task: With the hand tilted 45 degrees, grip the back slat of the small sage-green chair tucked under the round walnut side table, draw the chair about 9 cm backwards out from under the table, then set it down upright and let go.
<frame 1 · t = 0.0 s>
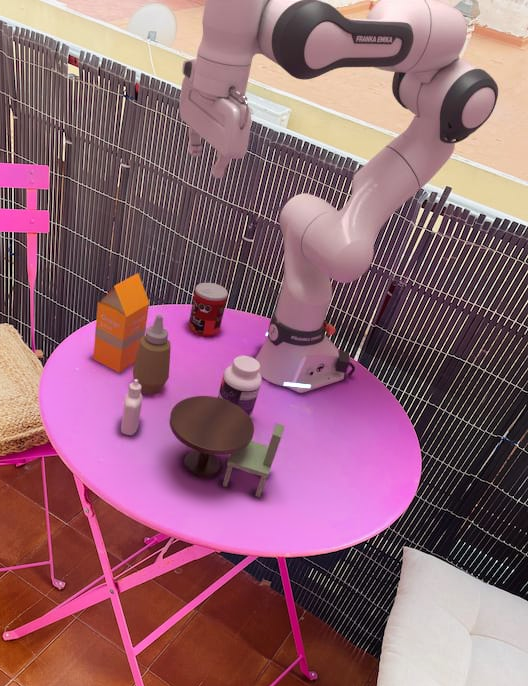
hand: (205, 165, 121), 48 cm above the table, tool pointing down, fingers open, 8 cm apart
orange juice: (117, 358, 158), on the table
squeeze bottle: (148, 388, 152), on the table
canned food: (203, 330, 173), on the table
pill bottle: (231, 418, 148), on the table
chair: (245, 479, 135), on the table
little table: (201, 465, 136), on the table
eye dropper bottle: (129, 428, 141), on the table
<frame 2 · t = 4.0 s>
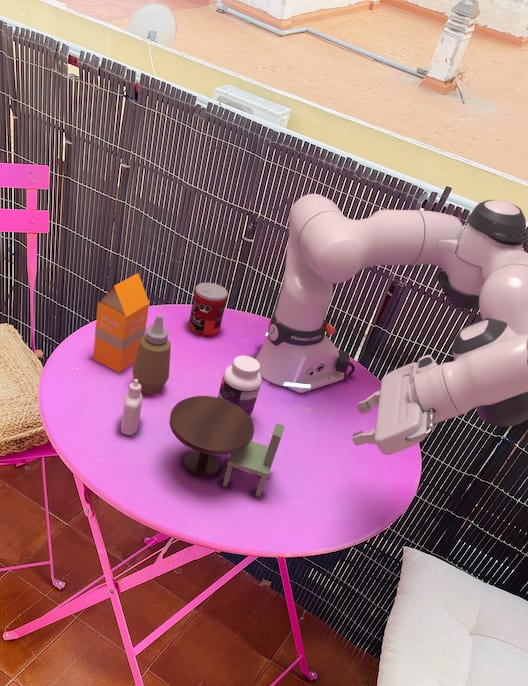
hand: (356, 424, 119), 20 cm above the table, tool tilted 45°, fingers open, 8 cm apart
nothing on the table moved.
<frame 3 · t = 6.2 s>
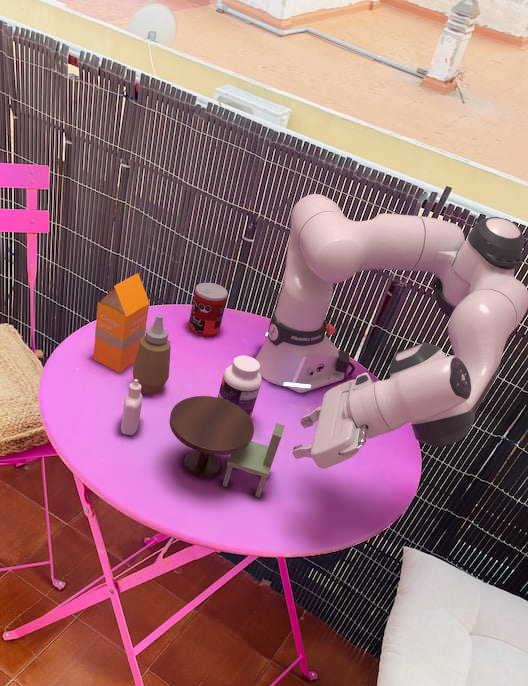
hand: (298, 437, 125), 14 cm above the table, tool tilted 45°, fingers open, 8 cm apart
nothing on the table moved.
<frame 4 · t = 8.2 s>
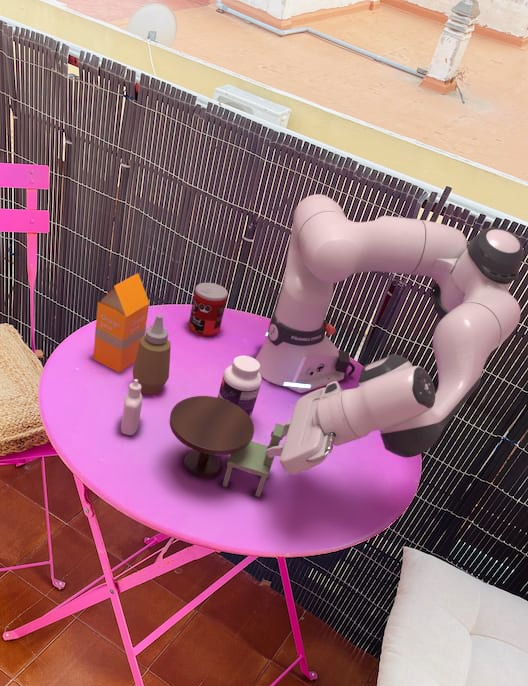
hand: (270, 444, 128), 10 cm above the table, tool tilted 45°, fingers closed on chair, 3 cm apart
chair: (245, 479, 135), on the table, touching gripper
everything else where it was.
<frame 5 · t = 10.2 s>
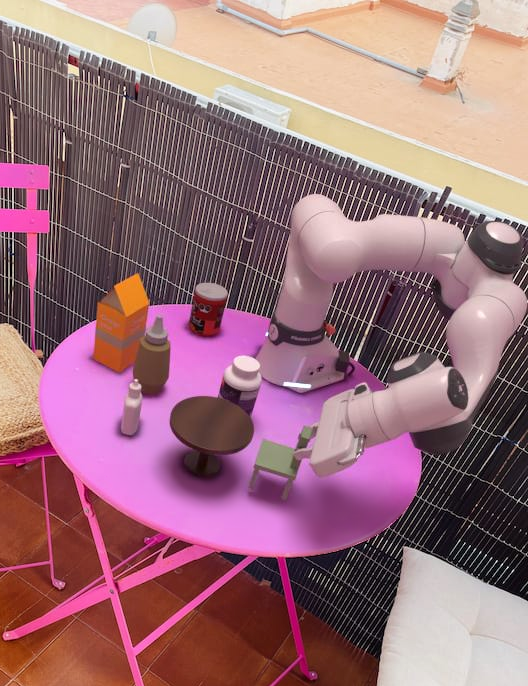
hand: (297, 446, 126), 12 cm above the table, tool tilted 45°, fingers closed on chair, 3 cm apart
chair: (270, 481, 133), point 1 cm above the table, touching gripper
everything else where it was.
when the fingers open (10 cm above the table, at t = 12.5 s): chair stays where it is, on the table.
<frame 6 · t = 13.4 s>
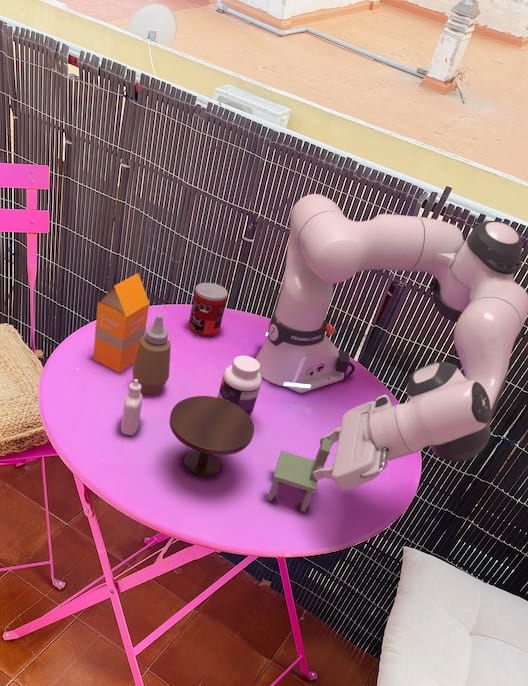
hand: (318, 458, 126), 10 cm above the table, tool tilted 45°, fingers open, 8 cm apart
chair: (289, 493, 134), on the table
everything else where it was.
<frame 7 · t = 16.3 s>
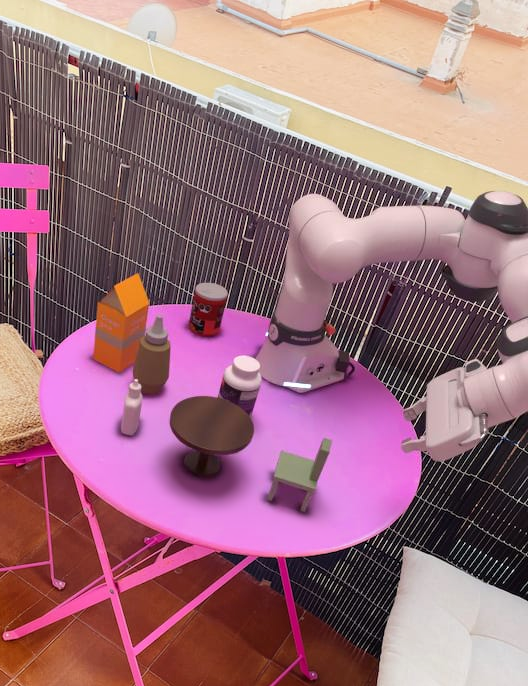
hand: (403, 431, 117), 22 cm above the table, tool tilted 40°, fingers open, 8 cm apart
nothing on the table moved.
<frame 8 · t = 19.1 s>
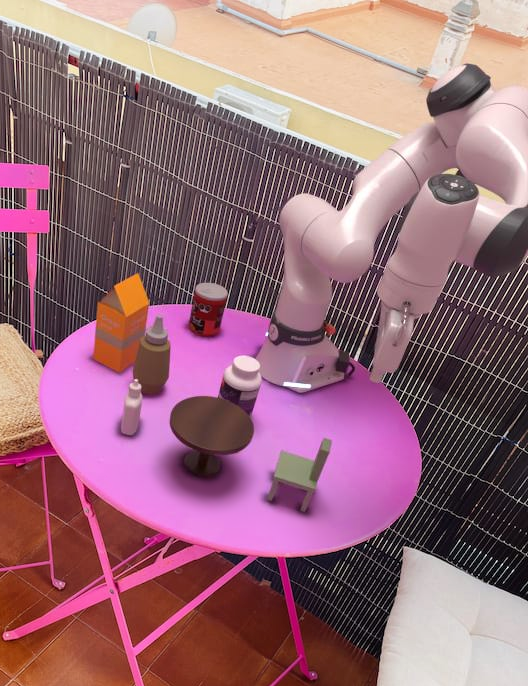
hand: (376, 364, 113), 31 cm above the table, tool pointing down, fingers open, 8 cm apart
nothing on the table moved.
at the end: chair inside the target area (0.4 cm from its centre), on the table; chair tilted 0°; the gripper is holding nothing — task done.
